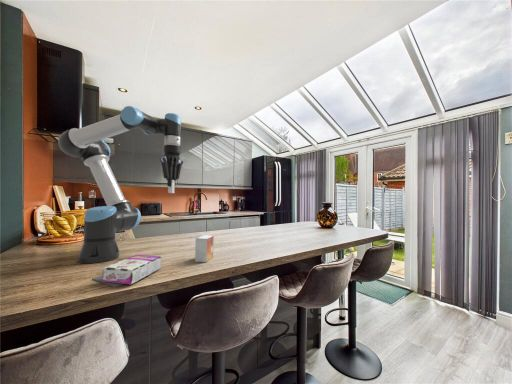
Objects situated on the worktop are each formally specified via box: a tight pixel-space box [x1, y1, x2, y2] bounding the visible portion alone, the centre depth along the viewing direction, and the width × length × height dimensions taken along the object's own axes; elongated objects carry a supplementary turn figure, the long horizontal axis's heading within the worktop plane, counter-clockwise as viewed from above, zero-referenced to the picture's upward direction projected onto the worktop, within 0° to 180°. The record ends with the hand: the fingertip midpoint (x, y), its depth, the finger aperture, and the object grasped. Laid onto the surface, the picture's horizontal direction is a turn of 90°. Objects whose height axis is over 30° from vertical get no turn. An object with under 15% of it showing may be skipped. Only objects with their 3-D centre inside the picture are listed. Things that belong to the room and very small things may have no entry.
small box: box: [194, 234, 215, 263], centre depth 100 cm, size 8×6×10 cm
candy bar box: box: [102, 254, 162, 285], centre depth 78 cm, size 11×5×16 cm
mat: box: [92, 272, 154, 288], centre depth 78 cm, size 13×14×1 cm
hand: (171, 193), depth 107 cm, fingers closed
